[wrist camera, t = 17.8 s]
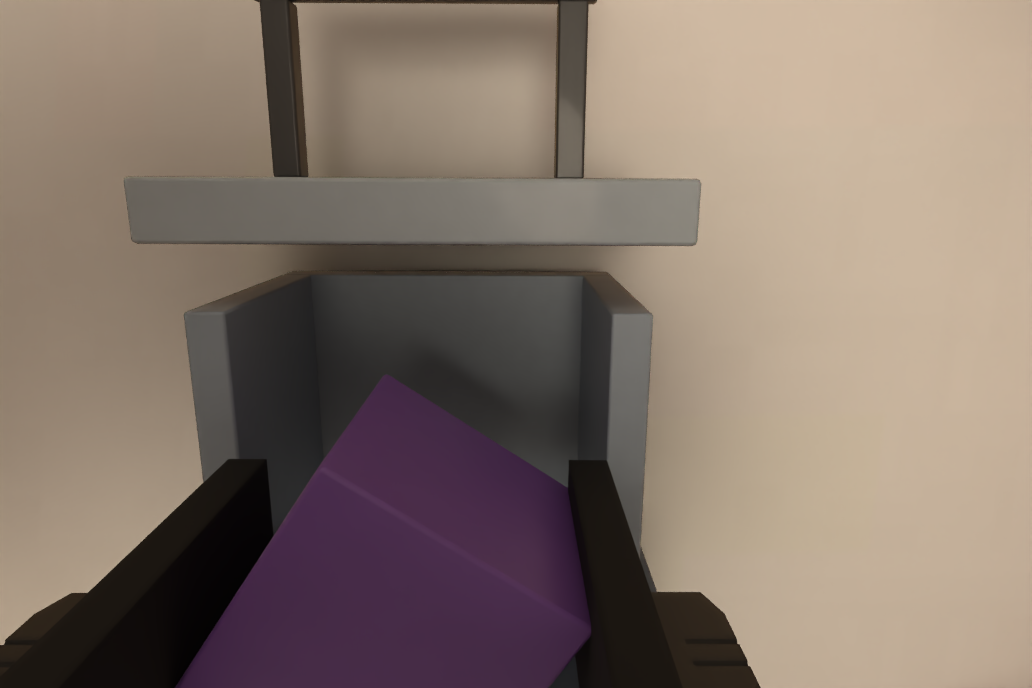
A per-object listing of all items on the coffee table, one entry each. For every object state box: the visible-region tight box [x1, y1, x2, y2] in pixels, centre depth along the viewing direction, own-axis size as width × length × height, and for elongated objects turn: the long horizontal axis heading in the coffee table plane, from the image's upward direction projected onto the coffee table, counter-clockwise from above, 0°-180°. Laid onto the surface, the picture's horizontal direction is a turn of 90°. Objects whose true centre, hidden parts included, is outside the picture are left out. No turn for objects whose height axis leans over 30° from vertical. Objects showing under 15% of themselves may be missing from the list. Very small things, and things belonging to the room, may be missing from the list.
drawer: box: [124, 0, 701, 688], centre depth 16 cm, size 17×10×7 cm, turn 0°
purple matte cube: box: [175, 375, 591, 688], centre depth 11 cm, size 4×4×4 cm
